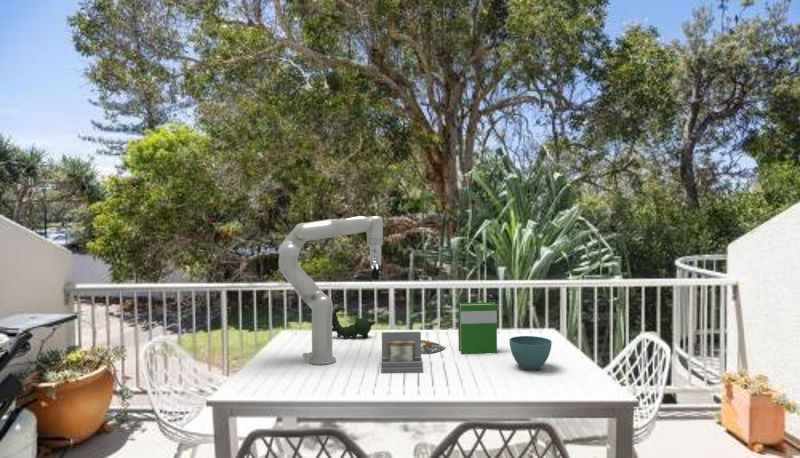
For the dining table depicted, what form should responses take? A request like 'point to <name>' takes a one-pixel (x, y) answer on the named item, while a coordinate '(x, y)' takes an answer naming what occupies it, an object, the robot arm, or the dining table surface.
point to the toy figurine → (351, 326)
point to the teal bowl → (530, 351)
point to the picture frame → (401, 351)
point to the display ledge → (401, 366)
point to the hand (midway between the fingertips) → (375, 277)
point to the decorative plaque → (430, 347)
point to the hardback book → (477, 327)
